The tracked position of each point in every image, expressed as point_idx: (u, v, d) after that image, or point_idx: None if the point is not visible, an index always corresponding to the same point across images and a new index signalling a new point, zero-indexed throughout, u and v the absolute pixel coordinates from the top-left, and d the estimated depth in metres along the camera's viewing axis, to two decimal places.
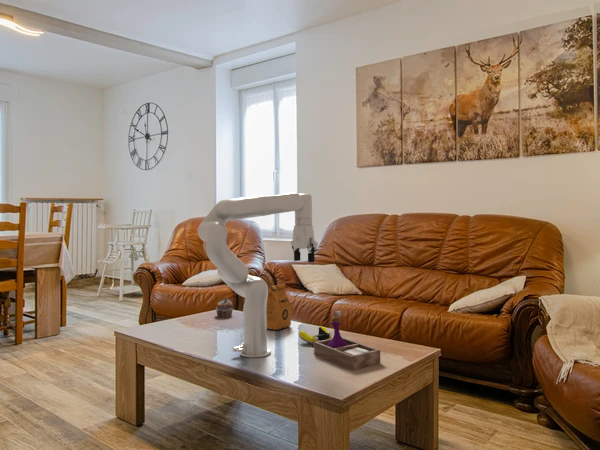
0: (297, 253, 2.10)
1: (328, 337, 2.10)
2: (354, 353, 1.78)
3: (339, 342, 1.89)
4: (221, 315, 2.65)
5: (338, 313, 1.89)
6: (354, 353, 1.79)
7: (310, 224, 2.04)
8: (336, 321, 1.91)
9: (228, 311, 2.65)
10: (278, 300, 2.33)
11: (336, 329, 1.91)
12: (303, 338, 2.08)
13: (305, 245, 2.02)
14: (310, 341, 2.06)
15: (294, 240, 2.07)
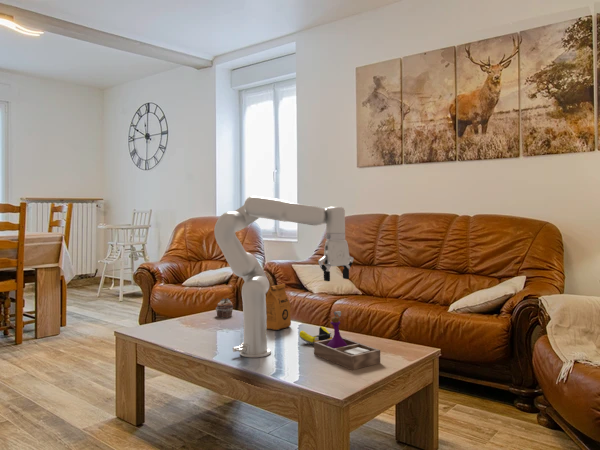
0: None
1: (328, 337, 2.10)
2: (355, 353, 1.79)
3: (339, 342, 1.89)
4: (221, 315, 2.65)
5: (338, 313, 1.89)
6: (354, 352, 1.79)
7: None
8: (336, 321, 1.91)
9: (228, 311, 2.65)
10: (278, 300, 2.33)
11: (336, 329, 1.91)
12: (303, 338, 2.08)
13: (348, 261, 1.91)
14: (310, 341, 2.06)
15: (334, 258, 1.87)
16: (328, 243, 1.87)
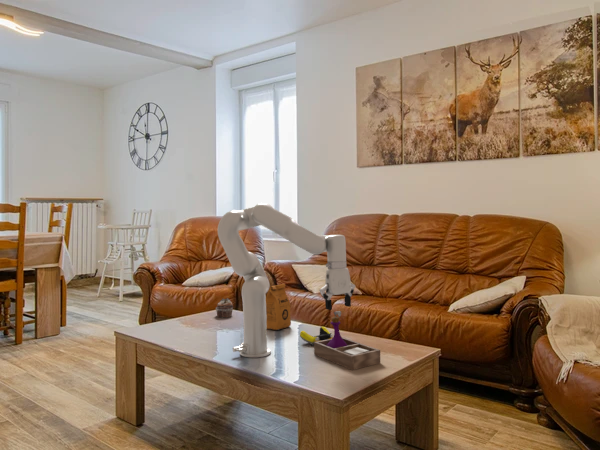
0: None
1: (329, 337, 2.10)
2: (354, 353, 1.78)
3: (339, 342, 1.89)
4: (221, 315, 2.65)
5: (338, 313, 1.89)
6: (354, 352, 1.79)
7: None
8: (336, 321, 1.91)
9: (228, 311, 2.65)
10: (278, 300, 2.33)
11: (336, 329, 1.91)
12: (304, 338, 2.08)
13: (350, 289, 1.91)
14: (311, 341, 2.06)
15: (335, 286, 1.87)
16: (329, 272, 1.87)
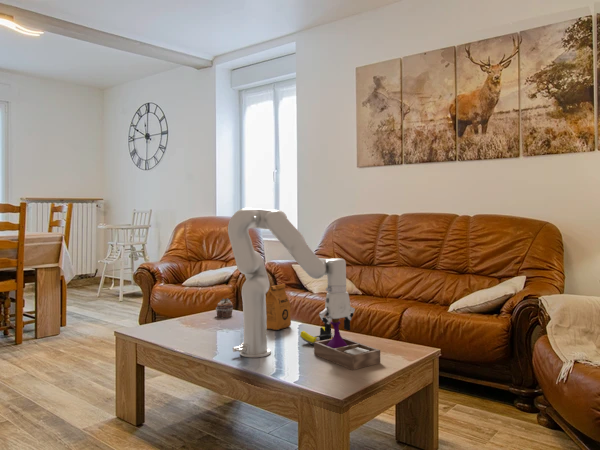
0: None
1: (329, 337, 2.09)
2: (355, 353, 1.78)
3: (339, 342, 1.89)
4: (221, 315, 2.65)
5: None
6: (355, 352, 1.79)
7: None
8: (336, 321, 1.91)
9: (228, 311, 2.65)
10: (278, 300, 2.33)
11: (336, 329, 1.91)
12: (304, 338, 2.07)
13: (349, 313, 1.91)
14: (311, 342, 2.05)
15: (335, 310, 1.87)
16: (329, 296, 1.88)
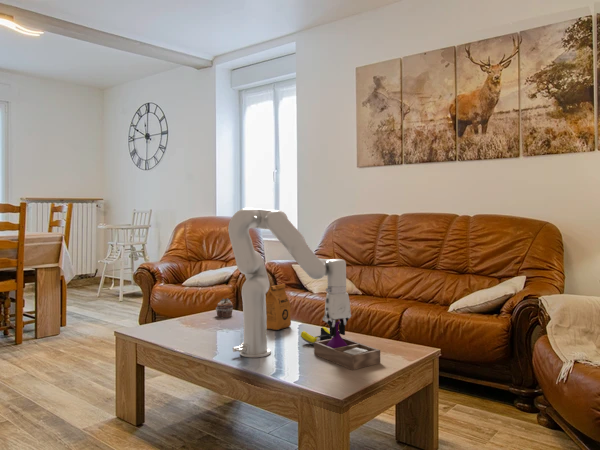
0: None
1: (330, 338, 2.09)
2: (354, 353, 1.78)
3: (338, 342, 1.89)
4: (221, 315, 2.65)
5: None
6: (354, 353, 1.79)
7: None
8: (335, 321, 1.91)
9: (228, 311, 2.65)
10: (278, 300, 2.33)
11: (336, 329, 1.91)
12: (305, 339, 2.07)
13: (349, 313, 1.91)
14: (312, 342, 2.05)
15: (335, 311, 1.87)
16: (329, 296, 1.88)
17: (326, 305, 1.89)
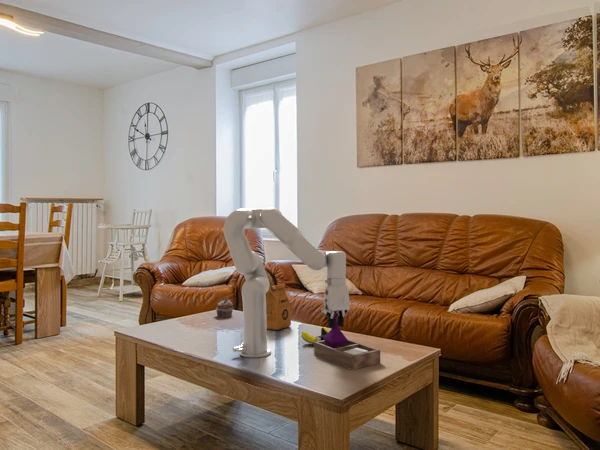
0: None
1: None
2: (354, 353, 1.78)
3: (336, 333, 1.89)
4: (221, 315, 2.65)
5: None
6: (354, 353, 1.79)
7: None
8: (334, 313, 1.91)
9: (228, 311, 2.65)
10: (278, 300, 2.33)
11: (334, 321, 1.91)
12: (305, 339, 2.07)
13: (348, 306, 1.91)
14: (312, 342, 2.05)
15: (334, 303, 1.87)
16: (328, 288, 1.87)
17: (325, 297, 1.89)
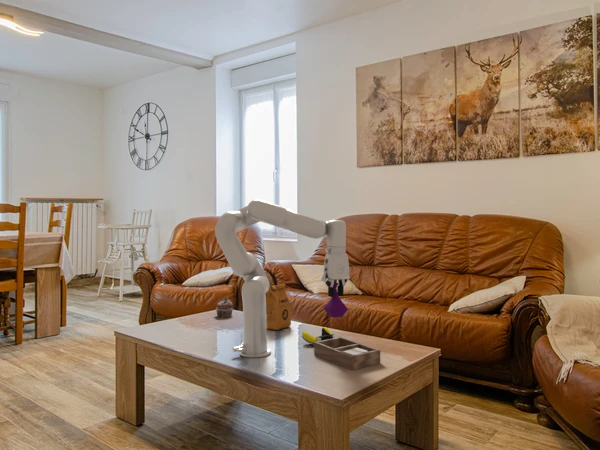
0: None
1: (331, 338, 2.08)
2: (354, 353, 1.78)
3: (337, 302, 1.89)
4: (221, 315, 2.65)
5: None
6: (353, 353, 1.79)
7: None
8: (334, 282, 1.91)
9: (228, 311, 2.65)
10: (278, 300, 2.33)
11: (334, 290, 1.91)
12: (306, 339, 2.06)
13: (348, 275, 1.91)
14: (313, 342, 2.04)
15: (333, 271, 1.87)
16: (328, 256, 1.87)
17: (325, 265, 1.88)
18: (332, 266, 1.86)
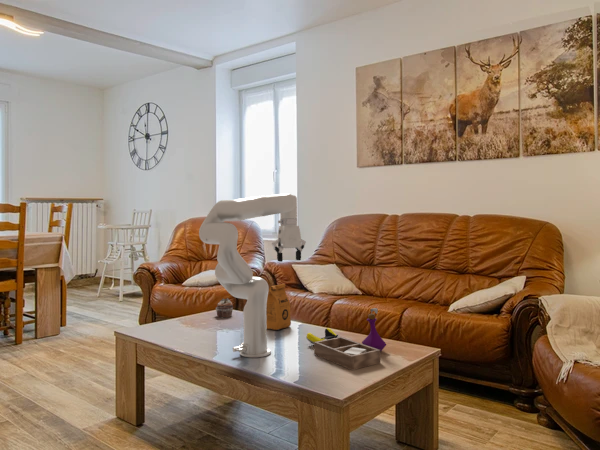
0: None
1: None
2: (356, 353, 1.79)
3: (375, 338, 1.94)
4: (221, 315, 2.65)
5: (375, 310, 1.94)
6: (355, 352, 1.79)
7: None
8: (372, 318, 1.96)
9: (228, 311, 2.65)
10: (278, 300, 2.33)
11: (373, 326, 1.96)
12: (311, 340, 2.04)
13: (300, 244, 2.13)
14: None
15: (286, 240, 2.09)
16: (281, 227, 2.09)
17: (278, 235, 2.11)
18: (284, 236, 2.09)
